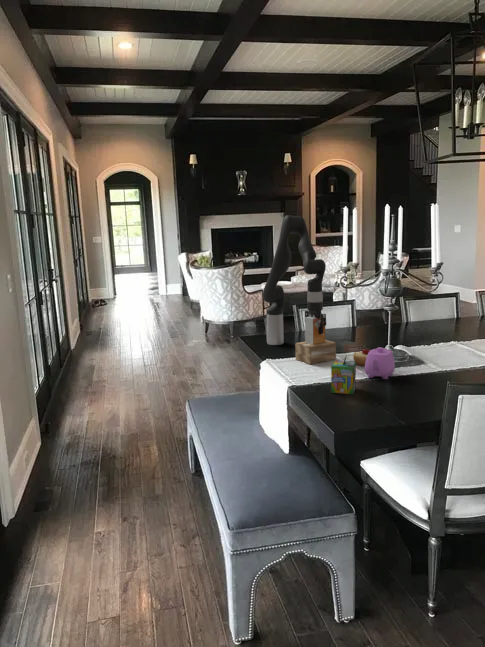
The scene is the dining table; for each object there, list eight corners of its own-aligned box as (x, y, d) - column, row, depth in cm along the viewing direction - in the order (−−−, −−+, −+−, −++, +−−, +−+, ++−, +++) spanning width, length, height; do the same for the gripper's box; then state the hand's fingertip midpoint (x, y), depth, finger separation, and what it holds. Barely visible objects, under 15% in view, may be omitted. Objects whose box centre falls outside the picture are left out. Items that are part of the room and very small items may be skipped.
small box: (313, 344, 258) (312, 318, 255) (305, 342, 263) (304, 317, 260) (325, 342, 262) (325, 316, 259) (317, 340, 267) (317, 314, 265)
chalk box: (333, 386, 221) (333, 352, 218) (356, 387, 218) (356, 353, 216) (330, 393, 213) (330, 357, 210) (353, 394, 210) (353, 358, 207)
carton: (295, 359, 265) (295, 344, 264) (320, 354, 273) (320, 339, 272) (310, 365, 255) (310, 348, 253) (336, 359, 263) (336, 343, 261)
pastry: (360, 369, 246) (360, 351, 244) (349, 362, 258) (348, 345, 256) (383, 365, 249) (383, 347, 247) (371, 359, 261) (371, 341, 259)
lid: (295, 344, 264) (295, 342, 264) (320, 339, 271) (320, 338, 271) (309, 348, 254) (309, 347, 254) (335, 343, 261) (335, 342, 261)
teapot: (370, 368, 245) (371, 342, 242) (398, 371, 239) (398, 343, 237) (359, 380, 227) (359, 352, 225) (389, 383, 222) (389, 354, 219)
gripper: (330, 301, 254) (330, 334, 257) (312, 298, 266) (312, 329, 269) (318, 303, 250) (318, 336, 254) (300, 299, 263) (300, 331, 266)
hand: (315, 332), depth 261 cm, fingers open, 8 cm apart
